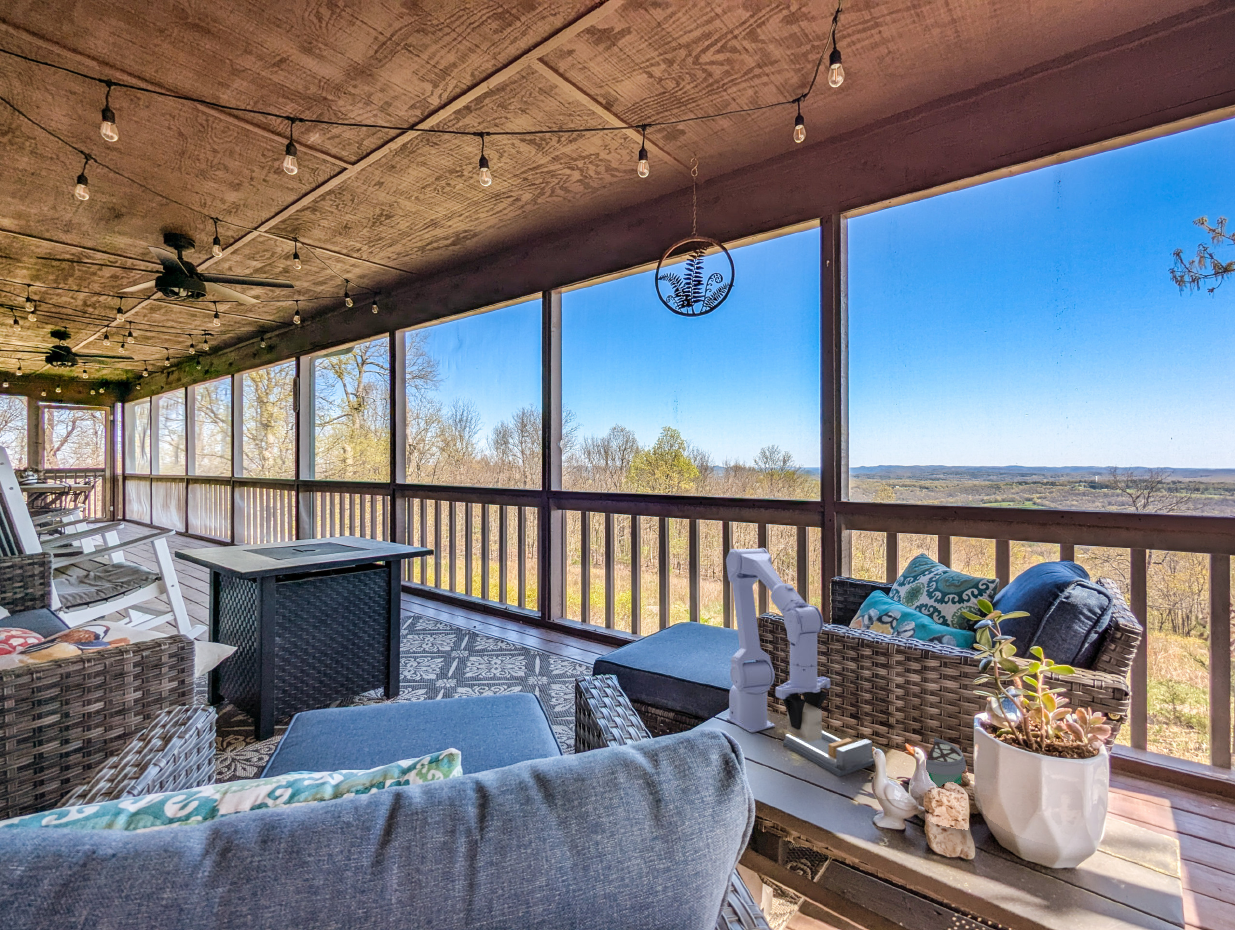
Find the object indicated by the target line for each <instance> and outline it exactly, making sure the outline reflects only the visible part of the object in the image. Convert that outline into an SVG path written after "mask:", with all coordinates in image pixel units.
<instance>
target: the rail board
mask: <svg viewBox="0 0 1235 930" xmlns="http://www.w3.org/2000/svg"><path fill="white" fill-rule="evenodd" d="M784 735H785V736H784V737H785V740H782V745H783V746H784V747H786V748H787V749H789V750H791V751H793V752H795V753H797V754H798V755H800V756H802V757H804V758H806V759H807V760H809V761H811V762H813V763H814V764H817V765H818V766H819V767H822V768H823V769H825V770H827V771H829V772H831V773H833V774H834V775H836V776H837V777H842V776H845V775H848V774H851V773H854V772H856V771H860V770H863V769H865V768H868V767H871V766H873V765H875V759H874V758H873V742H872V740H869V739H868V738H865V739H861V740H859V741H856V742H853V743H852V744H849V745H846V746H843V747H840V748H837V749H836V759H835V758H833V757H831V756H829V755H828V744H831V743H834V742H837V741H840V740H842V739H840V738H838V737H837V736H834V735H832V734H831V733H828V732H826V731H824V730H822V738H821V739H818V740H815V741H811V742H807V741H805V740H803V739H801V738H799V737H798V736H793V735H792V734H791V733H787V734H784ZM872 764H873V765H872Z"/></svg>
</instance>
